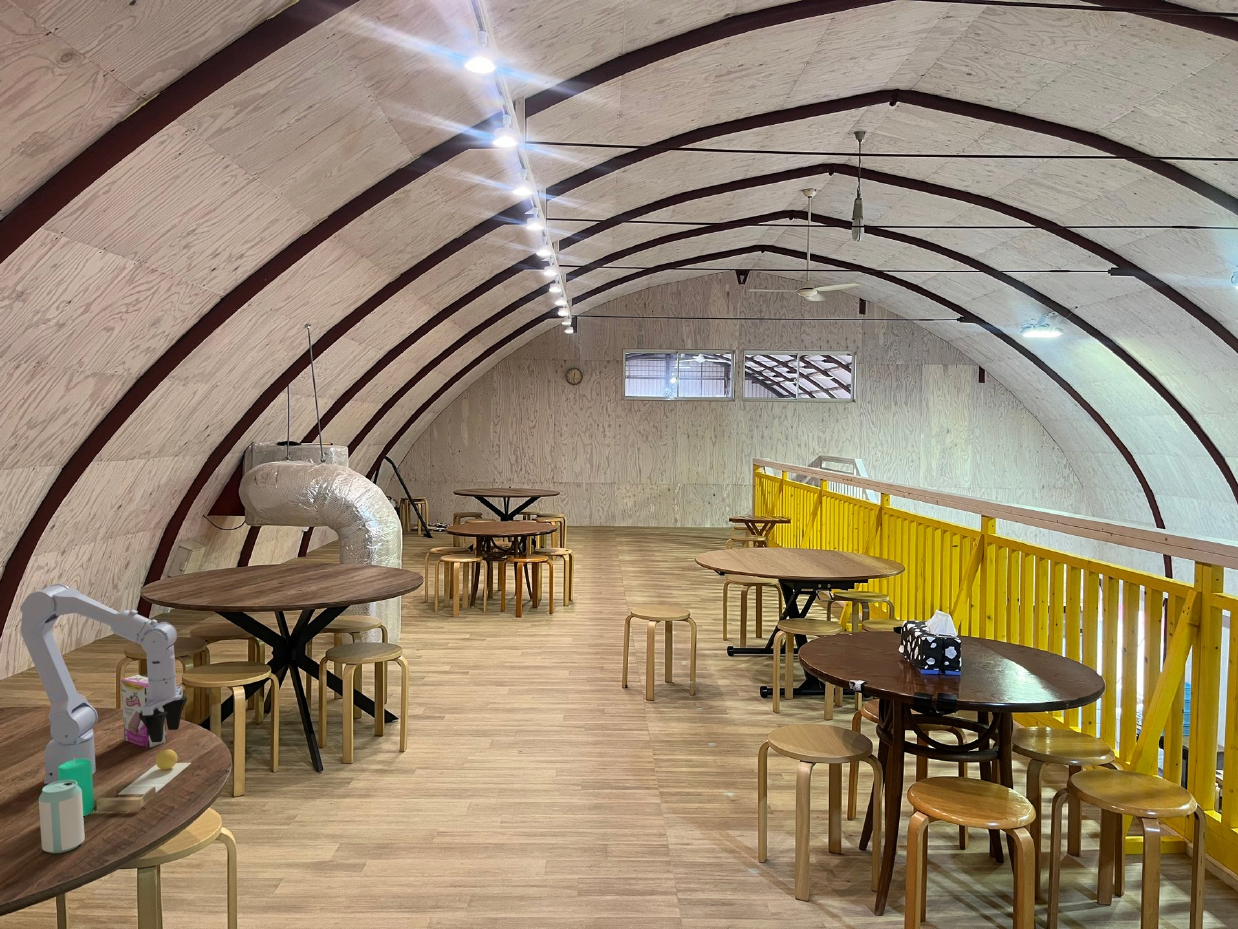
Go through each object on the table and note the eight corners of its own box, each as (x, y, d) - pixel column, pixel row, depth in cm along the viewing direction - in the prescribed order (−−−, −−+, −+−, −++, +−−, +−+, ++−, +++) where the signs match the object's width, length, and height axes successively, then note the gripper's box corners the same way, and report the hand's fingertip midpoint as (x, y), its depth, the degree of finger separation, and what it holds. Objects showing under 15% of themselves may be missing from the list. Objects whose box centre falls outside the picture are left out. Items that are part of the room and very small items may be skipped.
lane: (103, 809, 194) (102, 805, 194) (157, 766, 217) (157, 763, 216) (141, 808, 194) (140, 805, 194) (191, 766, 216) (191, 762, 216)
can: (50, 840, 181) (46, 780, 180) (89, 835, 182) (86, 776, 181) (36, 857, 174) (32, 795, 173) (77, 852, 175) (73, 791, 175)
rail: (97, 812, 193) (96, 800, 193) (113, 799, 199) (112, 787, 199) (140, 811, 193) (140, 799, 193) (156, 798, 199) (155, 787, 199)
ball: (152, 773, 211) (151, 753, 210) (162, 765, 215) (161, 746, 215) (171, 772, 211) (170, 753, 210) (181, 765, 215) (180, 746, 215)
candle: (70, 822, 189) (67, 764, 188) (55, 815, 192) (51, 759, 191) (100, 810, 194) (96, 754, 193) (84, 804, 197) (81, 749, 196)
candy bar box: (123, 743, 232) (119, 679, 231) (142, 737, 236) (138, 673, 235) (148, 751, 226) (144, 685, 225) (168, 745, 230) (164, 680, 229)
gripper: (163, 687, 204) (166, 747, 205) (194, 667, 219) (197, 724, 220) (131, 687, 204) (135, 747, 205) (164, 668, 219) (167, 724, 220)
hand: (165, 735), depth 212 cm, fingers open, 7 cm apart
